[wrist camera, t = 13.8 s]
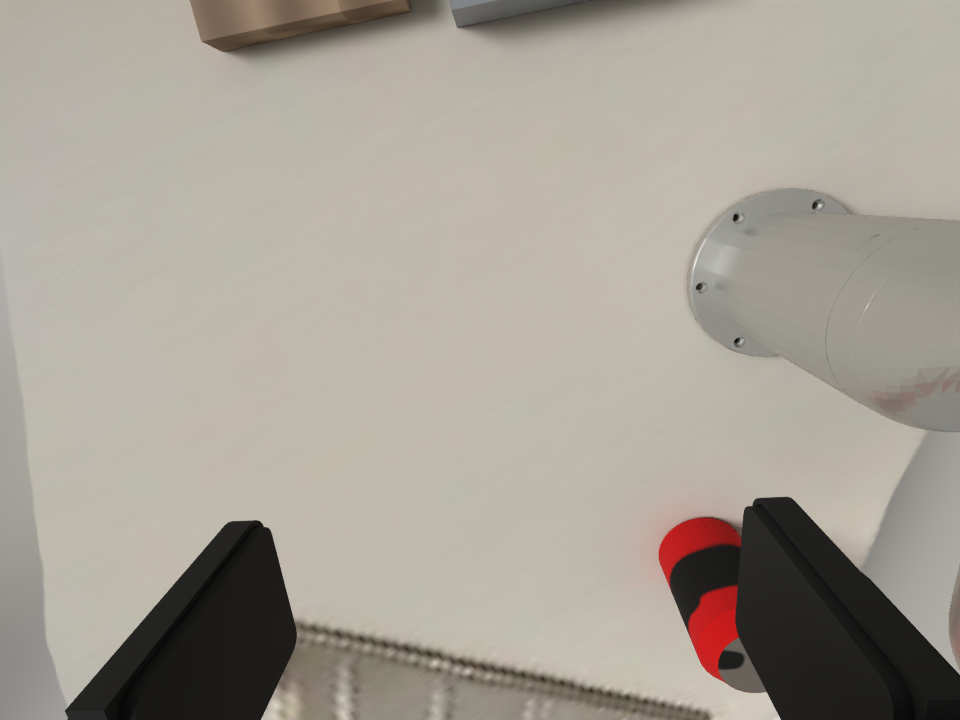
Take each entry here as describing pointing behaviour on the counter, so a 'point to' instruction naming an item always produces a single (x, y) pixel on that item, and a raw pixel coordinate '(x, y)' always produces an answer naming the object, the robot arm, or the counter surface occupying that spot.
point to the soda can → (709, 596)
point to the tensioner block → (281, 18)
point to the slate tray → (499, 9)
